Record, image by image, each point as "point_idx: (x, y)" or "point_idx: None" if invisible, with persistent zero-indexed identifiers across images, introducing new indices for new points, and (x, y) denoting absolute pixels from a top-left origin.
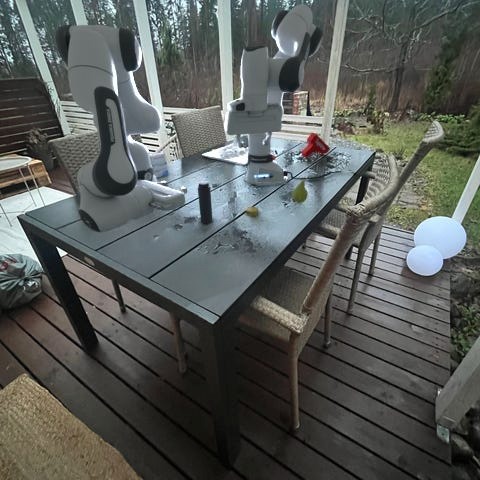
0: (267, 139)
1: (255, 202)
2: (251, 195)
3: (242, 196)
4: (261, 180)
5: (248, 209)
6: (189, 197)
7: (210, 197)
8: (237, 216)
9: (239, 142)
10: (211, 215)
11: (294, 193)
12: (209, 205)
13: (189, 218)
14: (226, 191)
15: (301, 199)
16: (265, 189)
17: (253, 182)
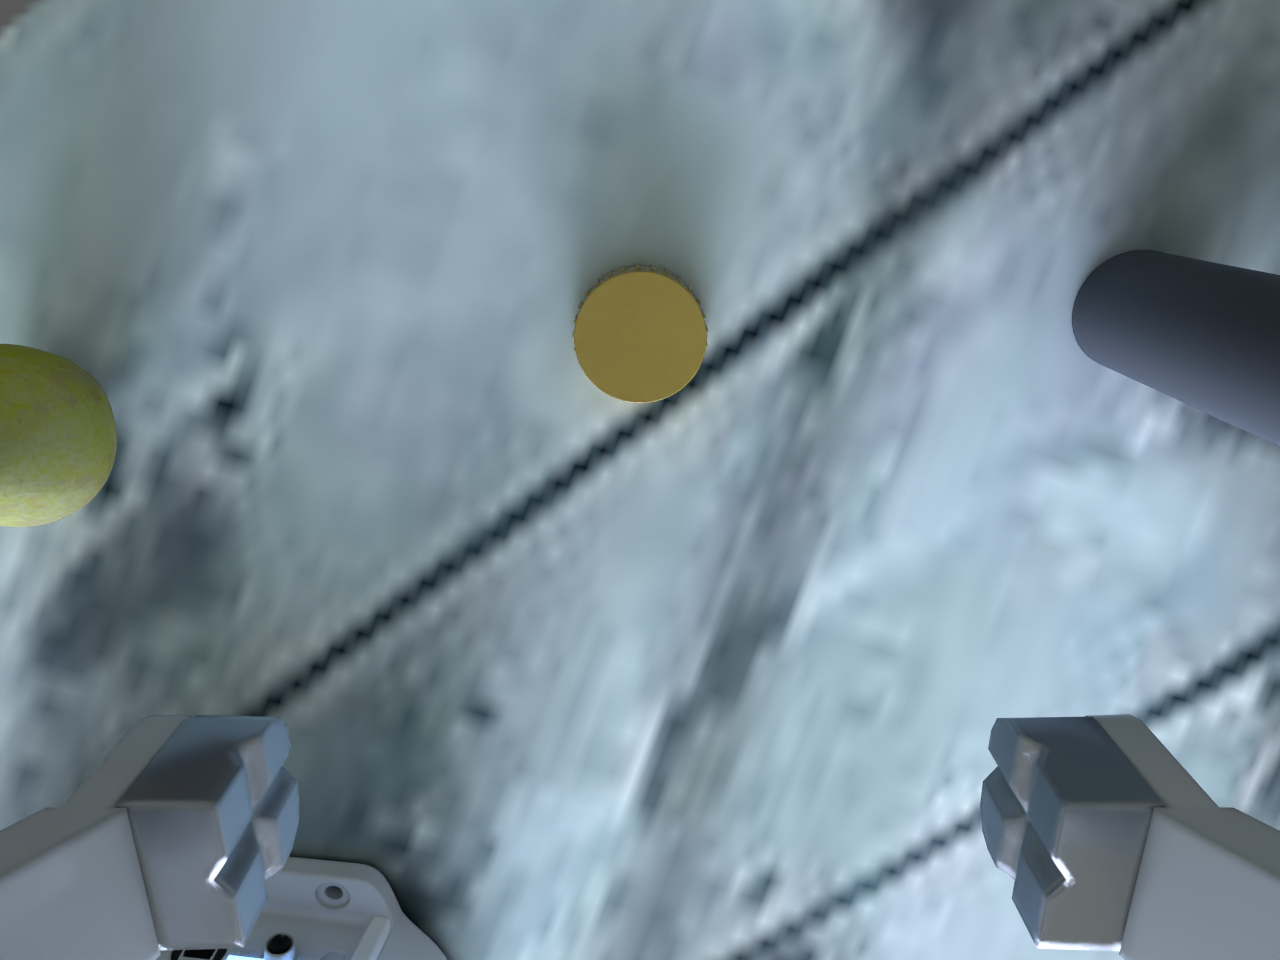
0: (79, 831)
1: (524, 544)
2: (511, 701)
3: (606, 706)
4: (319, 931)
5: (680, 343)
6: None
7: (1259, 323)
8: (808, 306)
9: (1239, 816)
10: (1131, 280)
11: (67, 426)
12: (1228, 284)
13: None
14: (720, 848)
15: (23, 347)
16: (327, 785)
17: (406, 935)
